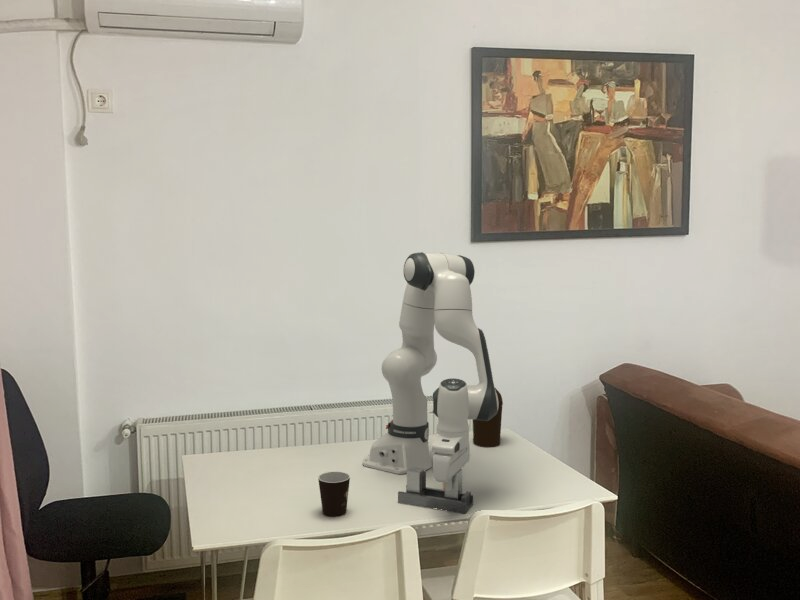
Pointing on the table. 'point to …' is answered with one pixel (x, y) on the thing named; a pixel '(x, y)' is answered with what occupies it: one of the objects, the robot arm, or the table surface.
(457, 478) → the finger
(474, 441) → the olive oil
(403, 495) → the rail
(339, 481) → the coffee mug
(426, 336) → the robot arm
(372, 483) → the table surface
